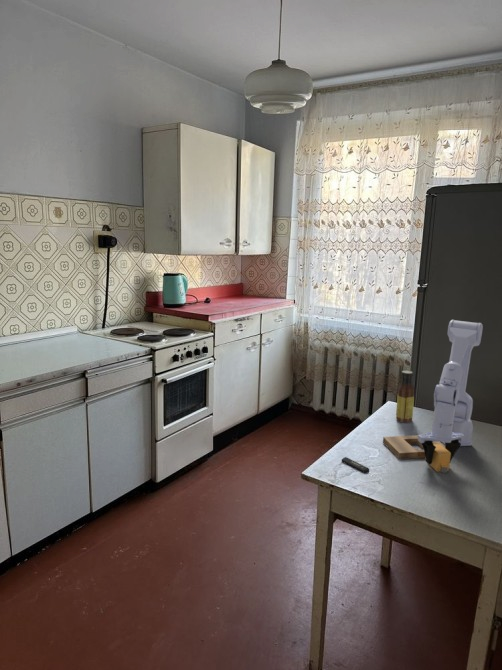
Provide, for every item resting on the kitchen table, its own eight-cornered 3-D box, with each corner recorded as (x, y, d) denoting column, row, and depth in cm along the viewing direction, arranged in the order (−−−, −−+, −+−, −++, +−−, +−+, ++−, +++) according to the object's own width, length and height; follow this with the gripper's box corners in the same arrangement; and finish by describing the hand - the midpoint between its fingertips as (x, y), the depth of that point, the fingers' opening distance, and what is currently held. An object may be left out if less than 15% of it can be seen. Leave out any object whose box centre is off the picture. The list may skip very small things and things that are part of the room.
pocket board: (430, 440, 164) (430, 434, 163) (449, 455, 152) (450, 450, 152) (382, 442, 161) (383, 436, 160) (398, 458, 149) (399, 453, 149)
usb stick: (340, 462, 146) (340, 458, 146) (345, 460, 148) (346, 455, 148) (364, 474, 139) (365, 470, 139) (369, 472, 141) (370, 467, 141)
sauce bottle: (412, 418, 183) (417, 370, 178) (412, 424, 177) (417, 375, 173) (395, 415, 185) (400, 368, 180) (394, 421, 179) (399, 372, 175)
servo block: (435, 459, 150) (437, 442, 148) (451, 473, 141) (453, 455, 140) (424, 459, 149) (426, 442, 148) (439, 473, 140) (441, 455, 139)
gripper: (428, 428, 137) (423, 469, 140) (472, 426, 139) (466, 467, 142) (416, 418, 143) (411, 458, 146) (458, 417, 146) (453, 456, 149)
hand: (437, 462), depth 145 cm, fingers open, 6 cm apart
